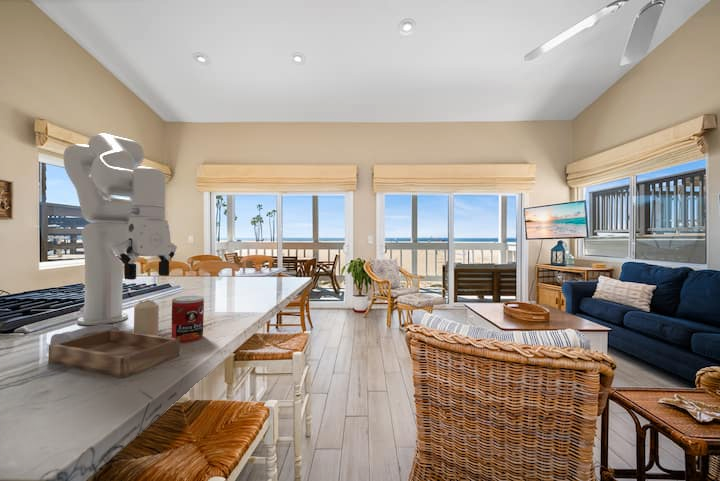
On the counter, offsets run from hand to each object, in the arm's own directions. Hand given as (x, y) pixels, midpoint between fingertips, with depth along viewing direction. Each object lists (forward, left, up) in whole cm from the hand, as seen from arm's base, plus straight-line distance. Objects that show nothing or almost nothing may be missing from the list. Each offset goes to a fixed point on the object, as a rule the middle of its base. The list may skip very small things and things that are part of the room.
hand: (147, 277), depth 86 cm
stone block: (-12, -8, -17) cm, 22 cm away
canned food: (+10, +4, -17) cm, 20 cm away
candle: (0, 0, -17) cm, 17 cm away
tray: (+8, -13, -16) cm, 22 cm away
